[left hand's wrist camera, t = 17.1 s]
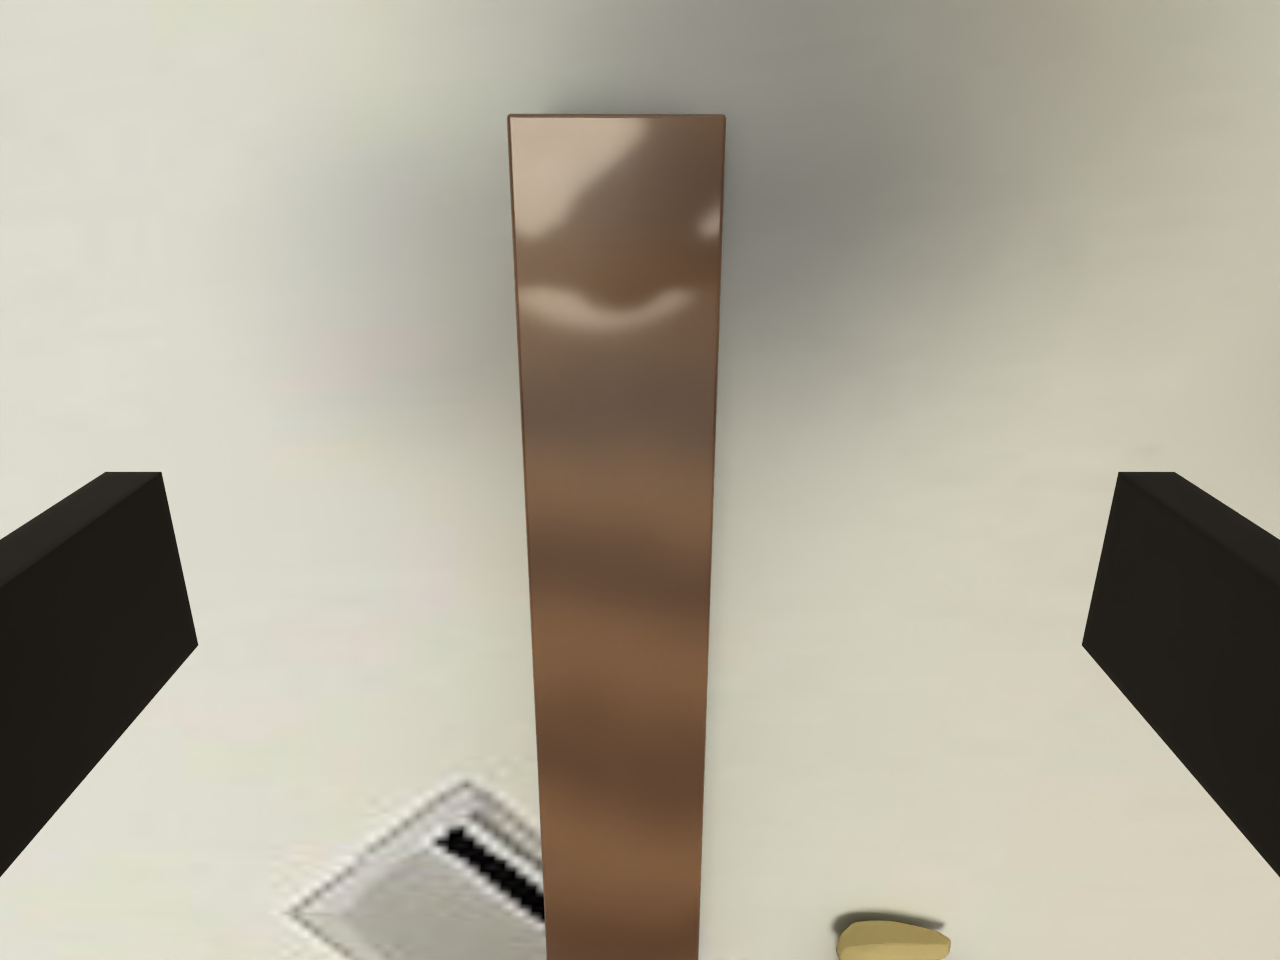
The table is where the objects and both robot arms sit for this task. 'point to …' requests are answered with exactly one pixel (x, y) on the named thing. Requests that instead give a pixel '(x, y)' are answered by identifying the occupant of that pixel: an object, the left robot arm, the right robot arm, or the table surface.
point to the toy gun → (891, 942)
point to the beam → (619, 511)
